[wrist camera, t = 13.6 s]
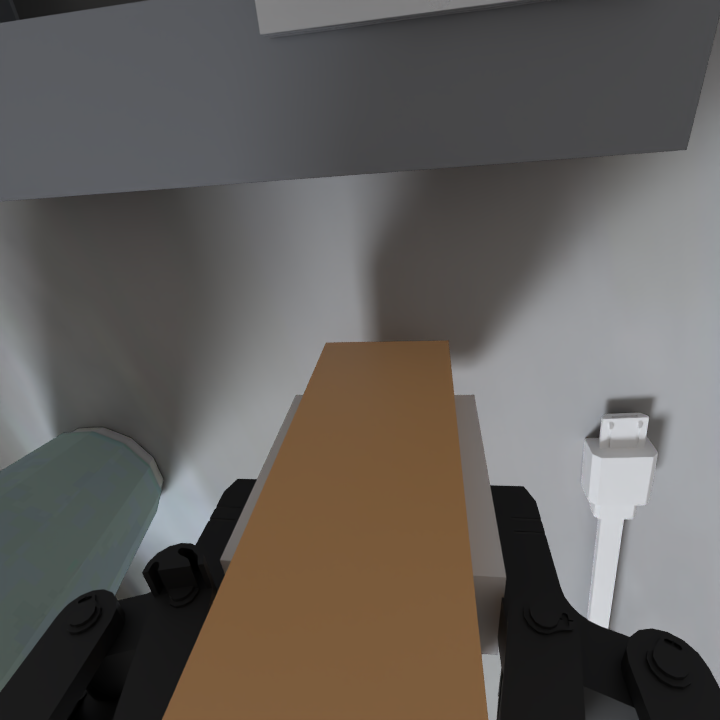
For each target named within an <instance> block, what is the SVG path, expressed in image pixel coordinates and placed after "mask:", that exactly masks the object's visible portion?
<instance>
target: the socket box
mask: <svg viewBox="0 0 720 720" xmlns="http://www.w3.org/2000/svg"><path fill="white" fill-rule="evenodd" d="M719 16H720V0H559V1H551V2H543V3H536V4H528V5H520V6H513V7H505V8H497V9H490V10H482V11H475V12H467V13H459V14H452V15H444V16H436V17H429V18H421V19H414V20H406V21H398V22H391V23H383V24H375V25H368V26H360V27H352V28H345V29H337V30H330V31H322V32H314V33H307V34H299V35H291V36H284V37H276V38H267V37H265V36H262V35H260V30H259V24H258V17H257V11H256V5H255V0H0V201H12V200H26V199H39V198H52V197H66V196H79V195H92V194H106V193H119V192H132V191H145V190H159V189H172V188H185V187H199V186H212V185H225V184H239V183H252V182H265V181H279V180H292V179H305V178H319V177H332V176H345V175H358V174H372V173H385V172H398V171H412V170H425V169H438V168H452V167H465V166H478V165H491V164H505V163H518V162H531V161H545V160H558V159H571V158H585V157H598V156H611V155H625V154H638V153H651V152H664V151H678V150H687V146H688V142H689V138H690V134H691V130H692V126H693V122H694V118H695V114H696V109H697V105H698V101H699V97H700V93H701V89H702V85H703V81H704V77H705V73H706V69H707V65H708V61H709V57H710V53H711V48H712V44H713V40H714V36H715V32H716V28H717V24H718V20H719Z"/></svg>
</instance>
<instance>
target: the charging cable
mask: <svg viewBox="0 0 720 720" xmlns="http://www.w3.org/2000/svg"><path fill="white" fill-rule="evenodd" d="M648 421H649V416H648V415H645V414H642V413H617V414H605V415H604V416H603V417H602V418H601V428H600V437H599V438H585V442H584V454H583V466H582V478H581V485H582V488H583V490H584V492H585V495H586V497H587V499H588V501H589V502H590V508H591V511H592V513H593V515H594V517H596V518H598V523H597V532H596V542H595V551H594V560H593V569H592V578H591V587H590V596H589V605H588V614H587V620H589V621H591V622H593V623H595V624H597V625H599V626H601V627H604V628H607V629H608V626H609V619H610V612H611V605H612V598H613V591H614V585H615V578H616V571H617V564H618V557H619V550H620V543H621V536H622V529H623V523H624V519H633V518H634V517H635V514H636V508H637V505H646V504H647V503H648V502H649V501H650V497H651V491H652V485H653V479H654V474H655V468H656V462H657V457H658V451H657V450H656V449H655V447H654V446H653V444H652V443H651V441H650V440H649V439H648V437H647V436H646V434H647V428H648Z"/></svg>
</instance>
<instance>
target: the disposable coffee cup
mask: <svg viewBox="0 0 720 720" xmlns="http://www.w3.org/2000/svg"><path fill="white" fill-rule="evenodd" d="M162 484H163V478H162V476H161V473H160V471H159V469H158V467H157V465H156V462H155V460H154V458H153V457H152V456H151V455H150V454H149V453H147V452H146V451H145V450H144V449H143V448H142V447H141V446H140V445H138V444H137V443H136V442H135V441H134V440H133V439H132V438H129V437H127V436H124V435H122V434H119V433H117V432H114V431H112V430H109V429H106V428H104V427H98V428H78V429H76V430H74V431H73V432H64V433H62V434H61V435H59V436H57V437H56V438H54V439H53V440H51V441H49V442H48V443H46V444H44V445H43V446H41V447H39V448H38V449H36V450H34V451H33V452H31V453H30V454H28V455H26V456H25V457H23V458H21V459H20V460H18V461H16V462H15V463H13V464H11V465H10V466H8V467H7V468H5V469H3V470H2V471H0V692H1V690H2V689H3V688H4V686H5V685H6V684H7V682H8V681H9V680H10V678H11V677H12V676H13V674H14V673H15V672H16V670H17V669H18V668H19V666H20V665H21V664H22V662H23V661H24V660H25V658H26V657H27V656H28V654H29V653H30V652H31V650H32V649H33V648H34V646H35V645H36V644H37V642H38V641H39V640H40V638H41V637H42V636H43V634H44V633H45V632H46V630H47V629H48V627H49V626H50V625H51V623H52V622H53V621H54V619H55V618H56V617H57V615H58V614H59V613H60V612H61V611H62V610H63V609H64V608H65V607H66V606H67V605H68V604H69V603H70V602H72V601H73V600H74V599H76V598H77V597H79V596H80V595H83V594H85V593H88V592H90V591H92V590H101V589H105V590H107V591H110V592H112V593H113V594H114V596H115V594H116V592H117V590H118V588H119V586H120V584H121V582H122V580H123V578H124V576H125V574H126V572H127V570H128V568H129V566H130V564H131V562H132V560H133V558H134V556H135V554H136V552H137V550H138V548H139V546H140V544H141V542H142V540H143V538H144V536H145V534H146V532H147V530H148V528H149V526H150V524H151V522H152V520H153V518H154V516H155V514H156V512H157V508H158V504H159V499H160V495H161V488H162Z"/></svg>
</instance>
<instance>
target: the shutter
mask: <svg viewBox="0 0 720 720" xmlns="http://www.w3.org/2000/svg"><path fill="white" fill-rule="evenodd" d="M551 1H559V0H255V5H256V11H257V17H258V24H259V30H260V35H262V36H265V37H267V38H276V37H284V36H291V35H299V34H307V33H314V32H322V31H330V30H337V29H345V28H352V27H360V26H368V25H375V24H383V23H391V22H398V21H406V20H414V19H421V18H429V17H436V16H444V15H452V14H459V13H467V12H475V11H482V10H490V9H497V8H505V7H513V6H520V5H528V4H536V3H543V2H551Z"/></svg>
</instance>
